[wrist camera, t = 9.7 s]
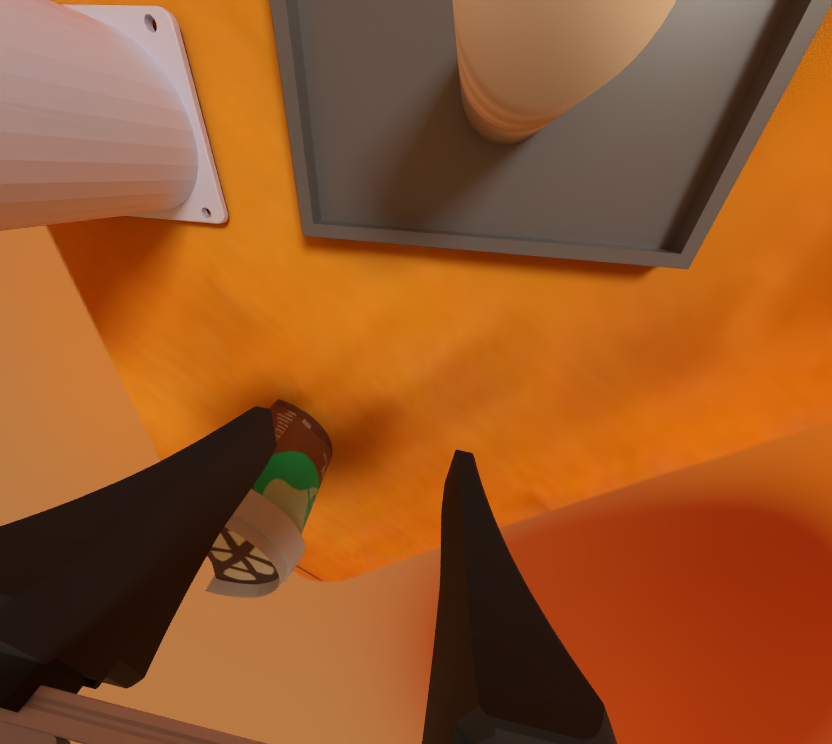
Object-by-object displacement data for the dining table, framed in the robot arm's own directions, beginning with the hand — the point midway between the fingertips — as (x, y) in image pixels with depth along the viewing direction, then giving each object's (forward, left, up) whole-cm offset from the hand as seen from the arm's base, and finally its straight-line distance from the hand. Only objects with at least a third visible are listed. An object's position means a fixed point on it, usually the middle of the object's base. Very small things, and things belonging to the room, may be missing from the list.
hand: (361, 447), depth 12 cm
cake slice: (-8, -12, -10) cm, 17 cm away
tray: (+4, +12, -9) cm, 16 cm away
